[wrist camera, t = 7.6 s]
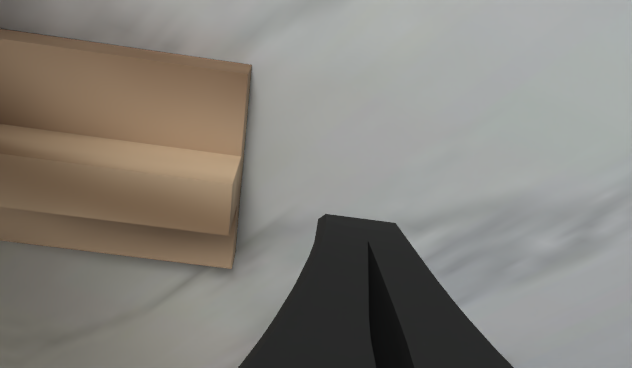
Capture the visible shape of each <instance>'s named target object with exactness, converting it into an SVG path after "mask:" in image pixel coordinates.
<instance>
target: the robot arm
mask: <svg viewBox="0 0 632 368" xmlns="http://www.w3.org/2000/svg"><path fill="white" fill-rule="evenodd" d="M238 368H513V367H512V366H511V364H510V363H509V362H508V361H507V360H506V359H505V358H504V357H503V356H502V355H501V354H500V353H499V352H498V351H497V350H496V349H495V348H494V347H493V346H492V345H491V343H490V342H489V341H488V340H487V339H486V338H485V337H484V336H483V335H482V333H481V332H480V331H479V330H478V329H477V328H476V327H475V326H474V324H473V323H472V322H471V321H470V320H469V319H468V318H467V316H466V315H465V314H464V313H463V312H462V311H461V309H460V308H459V307H458V306H457V305H456V303H455V302H454V301H453V300H452V298H451V297H450V296H449V295H448V293H447V292H446V291H445V290H444V288H443V287H442V286H441V285H440V283H439V282H438V281H437V279H436V278H435V277H434V275H433V274H432V273H431V271H430V270H429V269H428V267H427V266H426V265H425V263H424V262H423V260H422V259H421V258H420V256H419V255H418V254H417V252H416V251H415V249H414V248H413V247H412V245H411V244H410V242H409V241H408V240H407V238H406V237H405V236H404V234H403V233H402V231H401V230H400V229H399V227H398V226H397V225H396V223H391V222H383V221H375V220H367V219H360V218H352V217H344V216H337V215H329V214H325V215H324V216H322V217H321V218H319V219H318V225H317V230H316V236H315V242H314V245H313V247H312V250H311V252H310V255H309V257H308V260H307V262H306V264H305V266H304V268H303V270H302V272H301V274H300V276H299V278H298V280H297V282H296V284H295V285H294V287H293V289H292V291H291V292H290V294H289V296H288V297H287V299H286V300H285V302H284V304H283V305H282V307H281V309H280V310H279V312H278V314H277V315H276V317H275V318H274V320H273V321H272V323H271V324H270V326H269V327H268V329H267V330H266V332H265V333H264V334H263V336H262V337H261V339H260V340H259V341H258V343H257V344H256V345H255V347H254V348H253V349H252V351H251V352H250V353H249V355H248V356H247V357H246V358H245V360H244V361H243V362H242V364H241V365H240V366H239V367H238Z"/></svg>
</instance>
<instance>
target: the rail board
mask: <svg viewBox="0 0 632 368" xmlns="http://www.w3.org/2000/svg"><path fill="white" fill-rule="evenodd" d="M251 68H252V65H248V64H242V63H235V62H228V61H221V60H214V59H207V58H200V57H193V56H186V55H179V54H172V53H165V52H158V51H151V50H144V49H137V48H131V47H124V46H117V45H110V44H103V43H96V42H89V41H82V40H75V39H68V38H61V37H54V36H47V35H40V34H33V33H27V32H20V31H13V30H6V29H0V240H1V241H9V242H17V243H25V244H34V245H42V246H50V247H58V248H66V249H74V250H82V251H90V252H98V253H107V254H115V255H123V256H131V257H139V258H147V259H155V260H163V261H172V262H180V263H188V264H196V265H204V266H212V267H220V268H228V269H232V265H233V260H234V256H235V250H236V238H237V227H238V215H239V204H240V193H241V181H242V170H243V159H244V147H245V136H246V124H247V113H248V102H249V90H250V79H251Z"/></svg>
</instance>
